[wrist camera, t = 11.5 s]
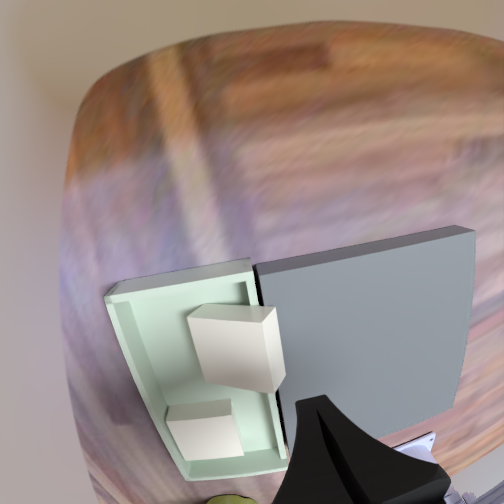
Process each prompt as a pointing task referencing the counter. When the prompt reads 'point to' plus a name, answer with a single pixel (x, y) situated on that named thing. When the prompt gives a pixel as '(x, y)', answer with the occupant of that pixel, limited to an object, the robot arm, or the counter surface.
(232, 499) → the plant pot
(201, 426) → the tile
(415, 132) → the counter surface
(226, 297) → the tray
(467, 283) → the board
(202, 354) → the tile
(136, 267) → the counter surface
